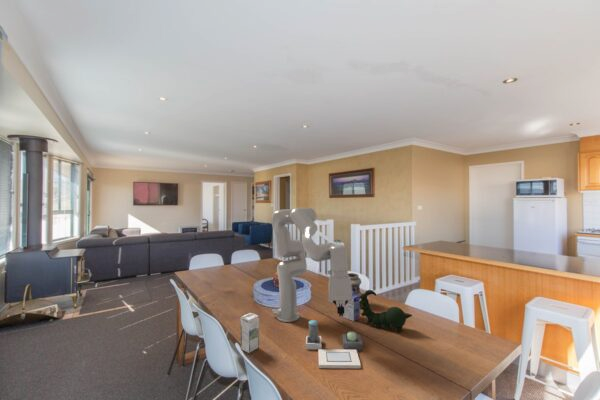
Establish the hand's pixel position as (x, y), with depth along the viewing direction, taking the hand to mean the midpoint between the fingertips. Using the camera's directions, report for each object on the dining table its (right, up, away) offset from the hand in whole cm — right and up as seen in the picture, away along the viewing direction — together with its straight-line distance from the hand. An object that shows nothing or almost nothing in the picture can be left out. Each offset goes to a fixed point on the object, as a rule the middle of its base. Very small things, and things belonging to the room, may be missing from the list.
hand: (341, 314), depth 120 cm
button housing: (+5, -14, 0) cm, 15 cm away
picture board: (-3, -14, -10) cm, 17 cm away
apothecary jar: (+14, -14, +49) cm, 53 cm away
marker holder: (-12, -14, +1) cm, 18 cm away
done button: (+5, -12, 0) cm, 13 cm away
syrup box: (-40, -15, 0) cm, 43 cm away
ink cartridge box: (+9, -14, +29) cm, 34 cm away
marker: (-12, -14, +1) cm, 18 cm away
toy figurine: (+25, -14, +16) cm, 33 cm away
